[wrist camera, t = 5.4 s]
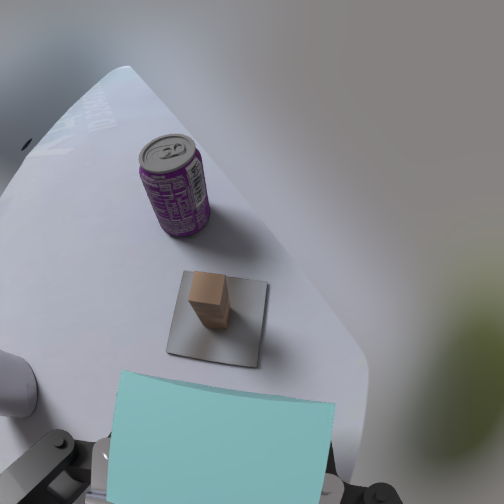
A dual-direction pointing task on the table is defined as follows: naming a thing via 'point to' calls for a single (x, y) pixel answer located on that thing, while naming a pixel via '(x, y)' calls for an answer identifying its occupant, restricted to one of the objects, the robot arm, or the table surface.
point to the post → (218, 318)
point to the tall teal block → (214, 445)
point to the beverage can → (175, 183)
